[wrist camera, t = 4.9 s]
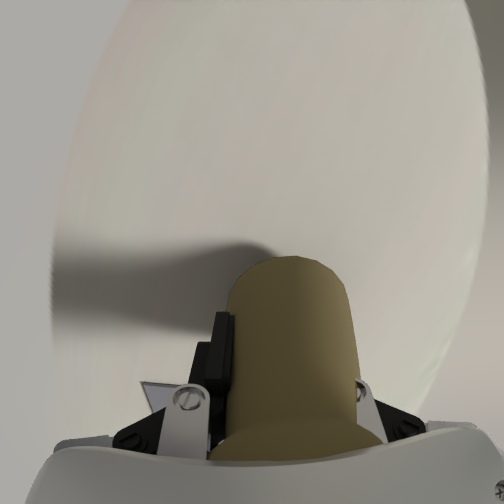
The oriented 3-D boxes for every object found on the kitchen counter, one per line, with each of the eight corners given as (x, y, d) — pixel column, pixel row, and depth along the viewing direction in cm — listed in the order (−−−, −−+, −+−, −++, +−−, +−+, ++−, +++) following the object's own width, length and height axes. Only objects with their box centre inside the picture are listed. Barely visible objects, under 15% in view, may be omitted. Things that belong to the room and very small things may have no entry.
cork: (244, 366, 15) (217, 559, 5) (210, 270, 13) (105, 509, 3) (352, 346, 14) (403, 540, 4) (341, 242, 12) (469, 484, 2)
